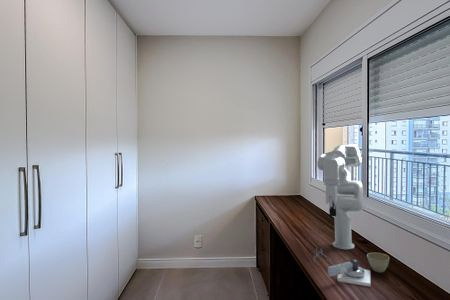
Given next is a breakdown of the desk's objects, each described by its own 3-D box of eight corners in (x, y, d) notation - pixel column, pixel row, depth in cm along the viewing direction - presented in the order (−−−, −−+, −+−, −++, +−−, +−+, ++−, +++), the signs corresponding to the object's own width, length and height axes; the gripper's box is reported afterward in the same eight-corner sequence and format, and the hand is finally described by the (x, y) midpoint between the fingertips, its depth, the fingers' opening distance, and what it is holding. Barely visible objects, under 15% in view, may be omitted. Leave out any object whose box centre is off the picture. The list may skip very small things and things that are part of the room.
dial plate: (340, 268, 148) (340, 265, 148) (370, 273, 142) (370, 269, 141) (337, 281, 135) (337, 277, 135) (370, 286, 129) (370, 282, 129)
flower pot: (368, 264, 151) (367, 251, 151) (389, 268, 146) (389, 254, 146) (366, 272, 142) (366, 258, 142) (389, 276, 137) (389, 261, 137)
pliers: (315, 262, 155) (305, 248, 175) (315, 264, 155) (305, 250, 175) (333, 261, 155) (320, 247, 175) (333, 263, 156) (320, 249, 175)
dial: (354, 267, 144) (353, 255, 144) (368, 275, 136) (368, 262, 136) (323, 275, 137) (322, 262, 137) (336, 284, 129) (335, 270, 129)
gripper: (326, 179, 159) (327, 211, 159) (322, 183, 145) (323, 219, 146) (340, 179, 155) (341, 212, 156) (337, 184, 142) (339, 220, 143)
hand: (332, 215), depth 151 cm, fingers closed
